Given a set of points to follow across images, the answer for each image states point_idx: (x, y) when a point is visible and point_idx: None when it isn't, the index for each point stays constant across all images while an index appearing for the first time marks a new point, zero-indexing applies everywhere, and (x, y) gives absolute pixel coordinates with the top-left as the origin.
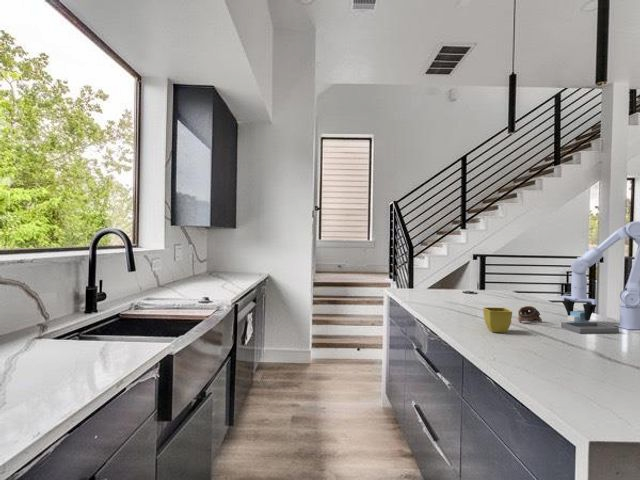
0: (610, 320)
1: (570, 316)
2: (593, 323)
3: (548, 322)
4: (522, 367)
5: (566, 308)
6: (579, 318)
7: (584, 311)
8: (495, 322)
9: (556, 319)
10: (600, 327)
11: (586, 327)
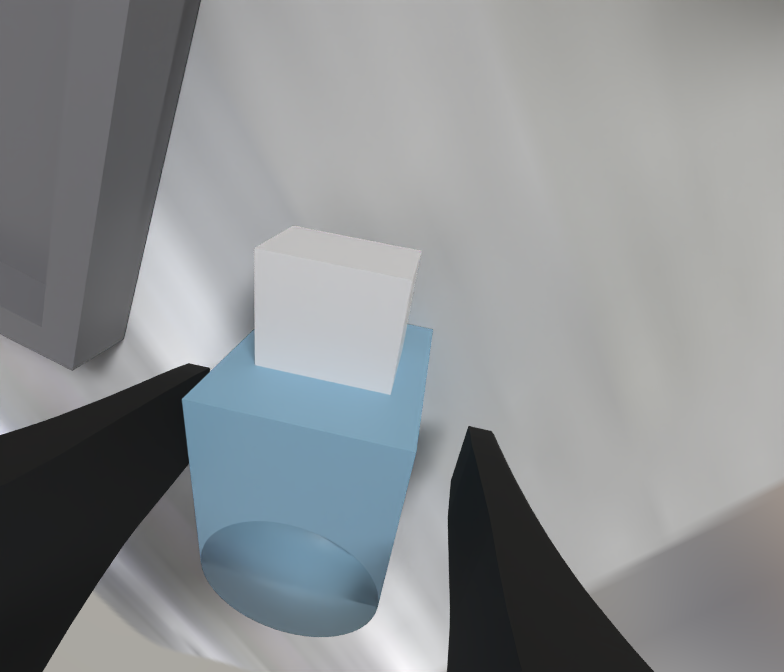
0: (286, 659)
1: (347, 264)
2: (60, 284)
3: (750, 2)
4: None
5: (541, 557)
6: (253, 344)
7: (276, 598)
8: None
9: (678, 421)
10: (4, 253)
11: (27, 55)
